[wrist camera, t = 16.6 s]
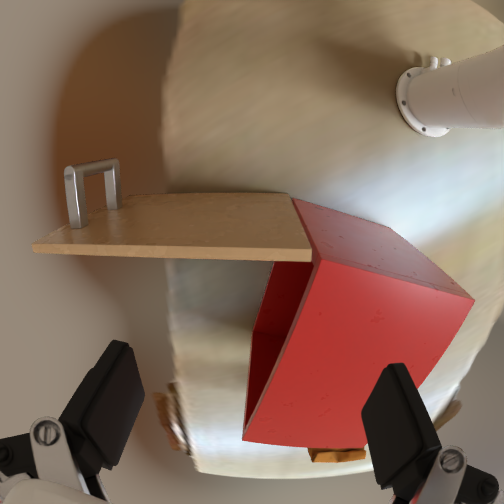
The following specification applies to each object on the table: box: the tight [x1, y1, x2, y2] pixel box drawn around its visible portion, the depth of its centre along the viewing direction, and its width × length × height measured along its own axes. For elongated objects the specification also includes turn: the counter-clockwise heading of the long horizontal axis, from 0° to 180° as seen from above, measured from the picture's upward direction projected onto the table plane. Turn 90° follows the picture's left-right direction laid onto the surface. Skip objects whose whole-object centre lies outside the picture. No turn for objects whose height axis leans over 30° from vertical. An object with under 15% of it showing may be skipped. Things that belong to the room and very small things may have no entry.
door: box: [32, 158, 312, 262], centre depth 31 cm, size 8×26×24 cm, turn 90°
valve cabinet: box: [242, 198, 475, 448], centre depth 36 cm, size 18×26×24 cm
